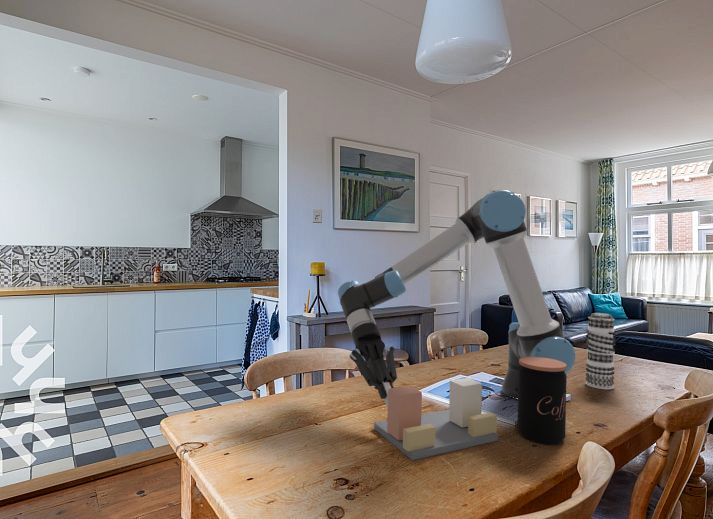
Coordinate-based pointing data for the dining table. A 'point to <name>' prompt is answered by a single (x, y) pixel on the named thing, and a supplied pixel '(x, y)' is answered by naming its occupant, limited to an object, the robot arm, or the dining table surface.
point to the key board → (442, 434)
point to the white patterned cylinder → (600, 351)
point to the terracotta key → (403, 410)
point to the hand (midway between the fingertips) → (393, 409)
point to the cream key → (464, 400)
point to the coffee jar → (542, 399)
